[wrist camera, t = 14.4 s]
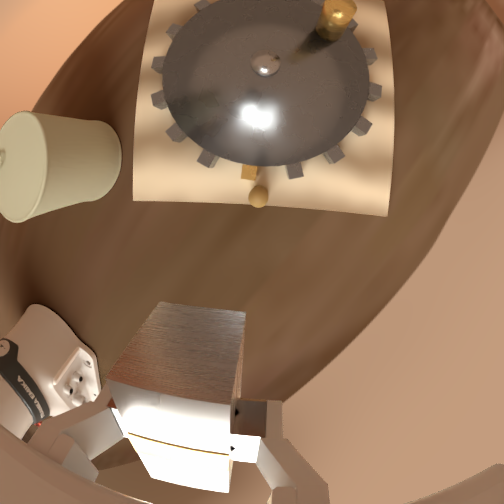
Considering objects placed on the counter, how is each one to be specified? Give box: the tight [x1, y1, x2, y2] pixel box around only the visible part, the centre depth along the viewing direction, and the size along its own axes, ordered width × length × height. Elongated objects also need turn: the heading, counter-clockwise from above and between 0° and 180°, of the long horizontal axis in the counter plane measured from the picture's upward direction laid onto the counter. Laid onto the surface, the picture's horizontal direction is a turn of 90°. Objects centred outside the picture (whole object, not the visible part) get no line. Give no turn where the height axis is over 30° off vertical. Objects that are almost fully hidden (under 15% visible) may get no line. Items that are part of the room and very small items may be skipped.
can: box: [0, 111, 122, 223], centre depth 19 cm, size 9×9×12 cm
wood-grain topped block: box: [105, 302, 246, 493], centre depth 8 cm, size 6×3×4 cm, turn 176°
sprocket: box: [151, 0, 382, 181], centre depth 17 cm, size 20×20×7 cm
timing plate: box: [133, 0, 394, 217], centre depth 20 cm, size 25×25×4 cm
